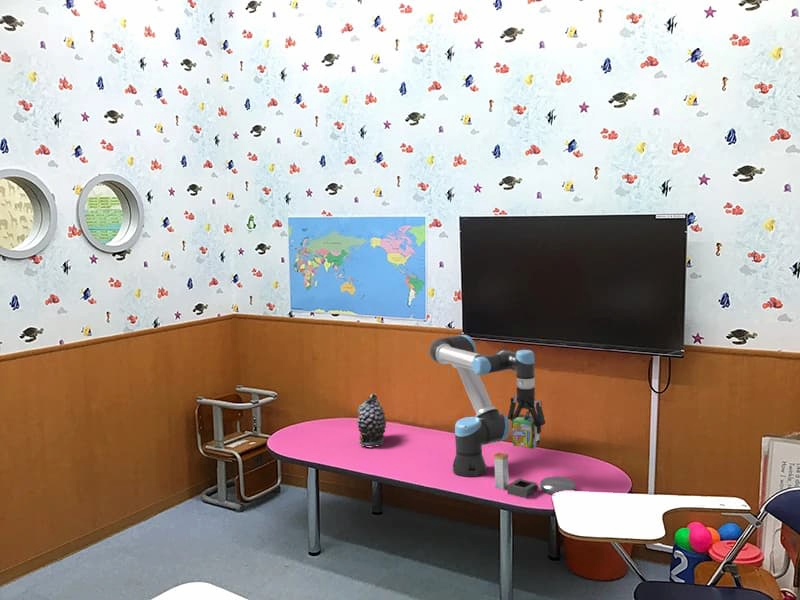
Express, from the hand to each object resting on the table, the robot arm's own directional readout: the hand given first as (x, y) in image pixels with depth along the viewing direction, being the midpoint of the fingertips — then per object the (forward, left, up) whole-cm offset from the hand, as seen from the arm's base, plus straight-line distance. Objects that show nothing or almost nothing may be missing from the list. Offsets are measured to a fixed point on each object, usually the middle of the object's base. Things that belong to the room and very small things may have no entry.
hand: (526, 438), depth 296 cm
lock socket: (+5, -13, -18) cm, 23 cm away
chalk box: (0, 0, -3) cm, 3 cm away
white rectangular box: (-5, -13, -18) cm, 23 cm away
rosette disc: (+15, -2, -18) cm, 24 cm away
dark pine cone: (-91, 0, -19) cm, 92 cm away
